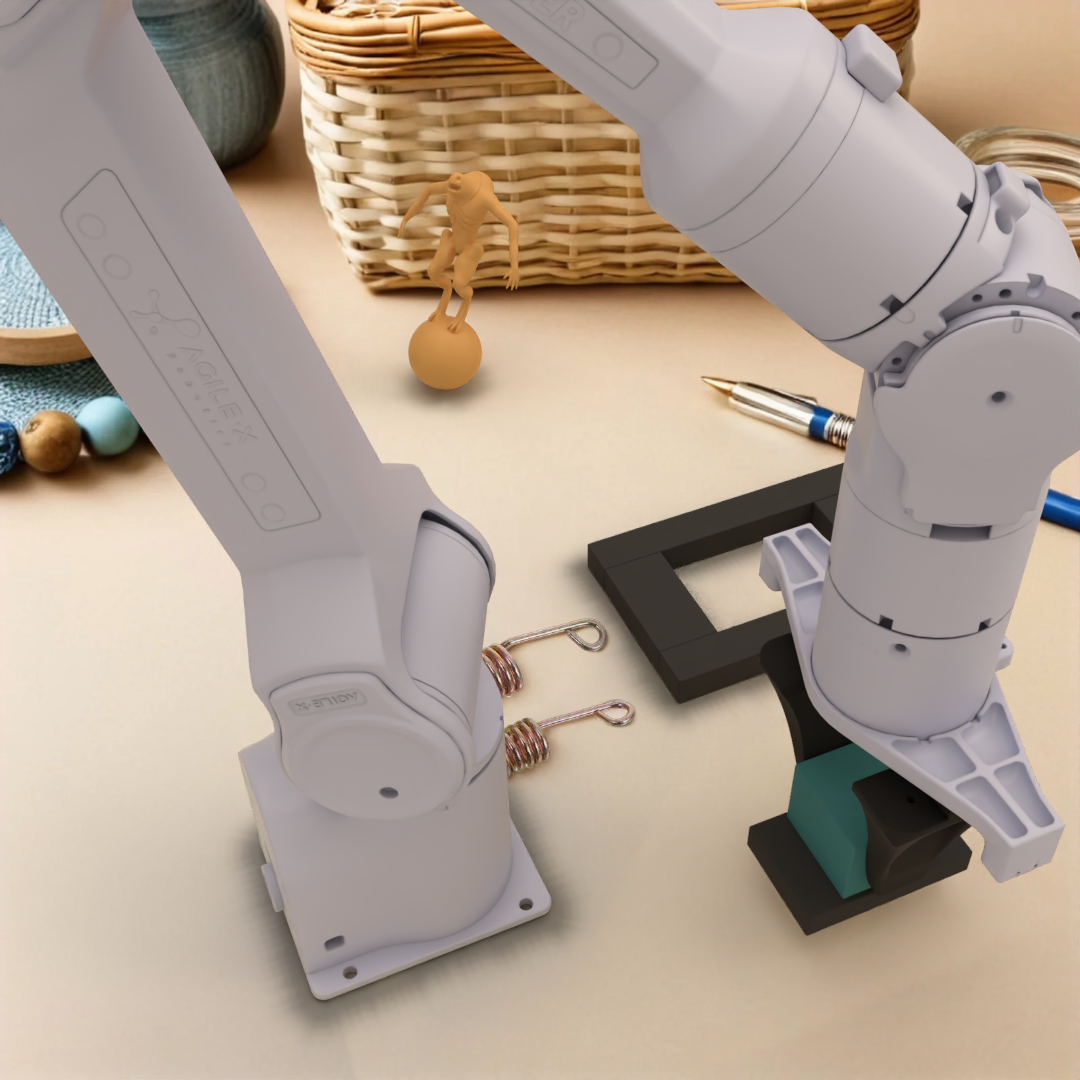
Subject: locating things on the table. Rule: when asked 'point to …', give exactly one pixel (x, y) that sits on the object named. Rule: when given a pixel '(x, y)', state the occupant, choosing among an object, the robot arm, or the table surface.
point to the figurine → (457, 280)
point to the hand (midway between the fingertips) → (862, 832)
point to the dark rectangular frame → (668, 607)
